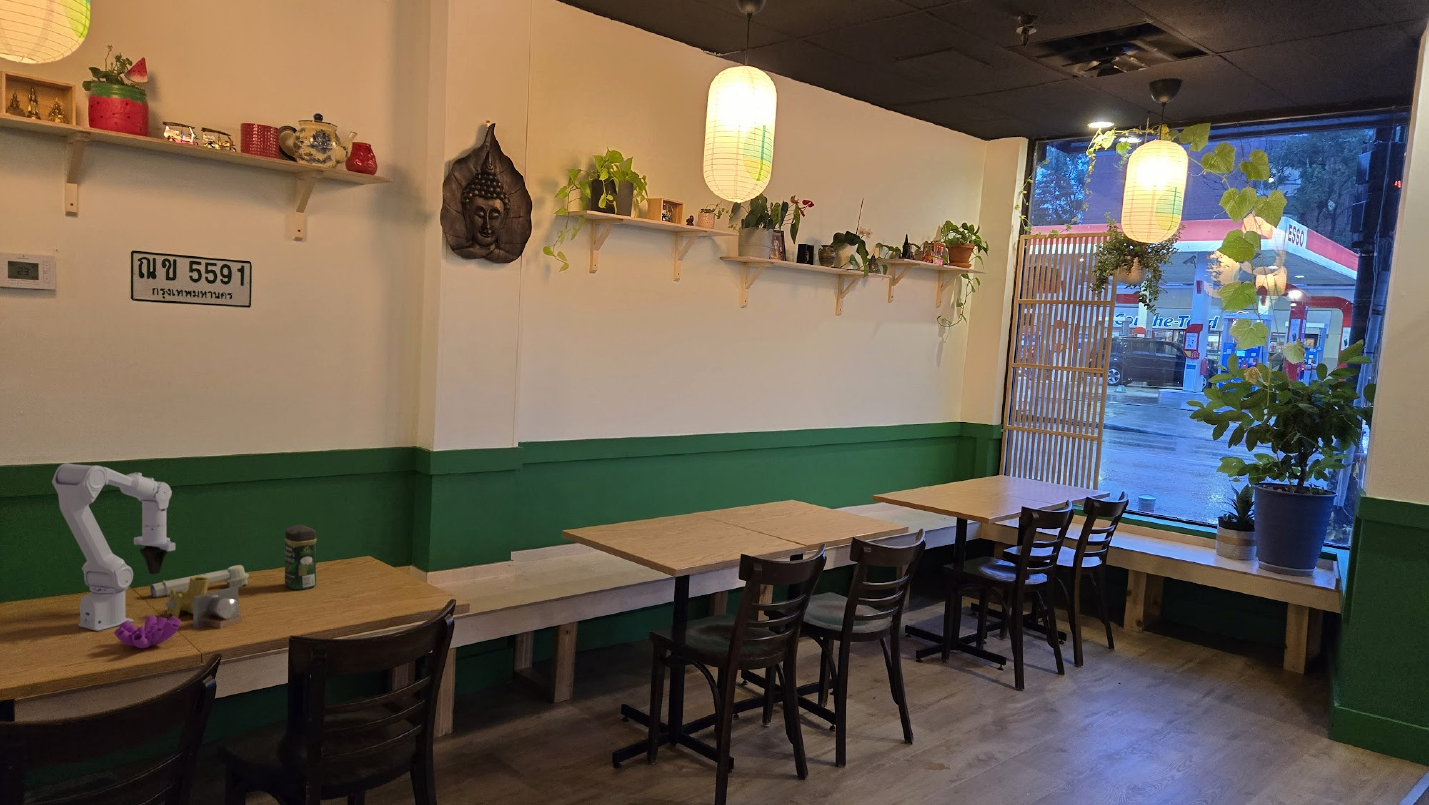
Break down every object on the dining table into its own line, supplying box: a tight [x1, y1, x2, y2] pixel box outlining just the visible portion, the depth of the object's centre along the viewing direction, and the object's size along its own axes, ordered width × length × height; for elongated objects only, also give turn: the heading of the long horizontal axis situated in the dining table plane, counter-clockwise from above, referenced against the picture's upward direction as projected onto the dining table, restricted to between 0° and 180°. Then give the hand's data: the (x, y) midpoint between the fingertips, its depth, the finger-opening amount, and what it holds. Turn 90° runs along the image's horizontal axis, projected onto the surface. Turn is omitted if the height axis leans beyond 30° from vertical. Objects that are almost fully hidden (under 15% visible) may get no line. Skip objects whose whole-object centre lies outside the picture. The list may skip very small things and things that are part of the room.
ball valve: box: [165, 575, 210, 619], centre depth 250 cm, size 13×10×10 cm
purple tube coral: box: [113, 615, 181, 649], centre depth 226 cm, size 11×15×10 cm
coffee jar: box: [284, 524, 318, 591], centre depth 280 cm, size 10×8×19 cm
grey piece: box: [149, 564, 250, 599], centre depth 272 cm, size 5×7×25 cm
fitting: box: [192, 586, 243, 629], centre depth 244 cm, size 12×7×8 cm, turn 156°
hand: (154, 573), depth 255 cm, fingers closed
